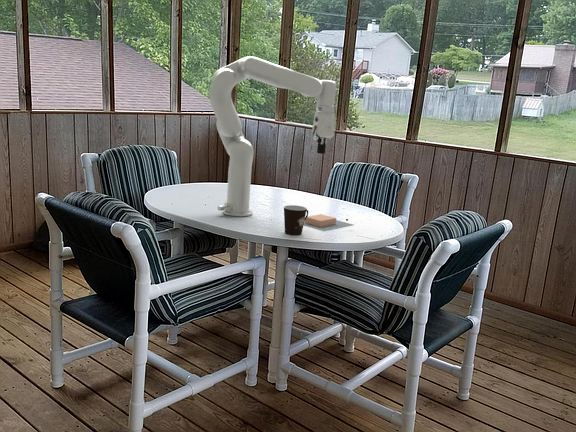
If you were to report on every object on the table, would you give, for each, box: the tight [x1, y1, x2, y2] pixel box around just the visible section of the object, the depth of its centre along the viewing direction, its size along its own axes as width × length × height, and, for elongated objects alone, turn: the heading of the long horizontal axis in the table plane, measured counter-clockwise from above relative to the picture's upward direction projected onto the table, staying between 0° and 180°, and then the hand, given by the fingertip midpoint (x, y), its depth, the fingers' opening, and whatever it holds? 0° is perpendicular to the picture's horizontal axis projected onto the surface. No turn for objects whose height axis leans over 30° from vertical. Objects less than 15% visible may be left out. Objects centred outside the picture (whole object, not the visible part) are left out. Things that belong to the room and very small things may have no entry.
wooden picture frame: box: [305, 213, 337, 227], centre depth 227 cm, size 3×8×10 cm
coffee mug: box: [283, 204, 309, 237], centre depth 210 cm, size 12×9×10 cm
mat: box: [303, 219, 354, 232], centre depth 228 cm, size 20×18×1 cm
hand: (320, 153), depth 240 cm, fingers closed
